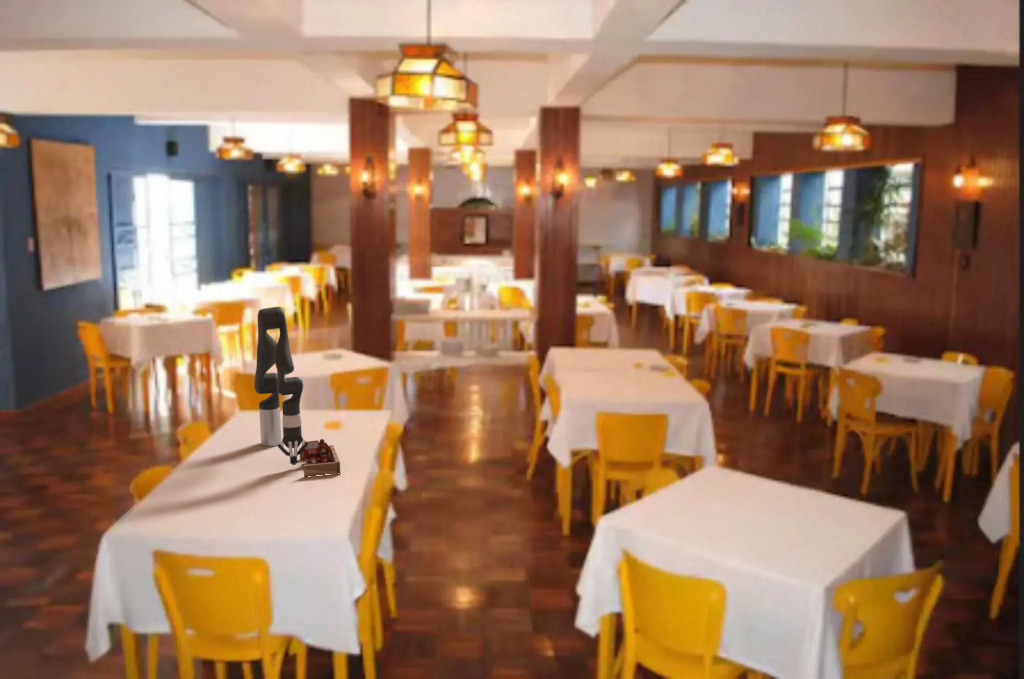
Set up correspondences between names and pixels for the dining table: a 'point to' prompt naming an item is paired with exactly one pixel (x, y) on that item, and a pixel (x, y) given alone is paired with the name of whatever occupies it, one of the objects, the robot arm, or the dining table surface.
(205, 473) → the dining table surface
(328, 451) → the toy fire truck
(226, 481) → the dining table surface
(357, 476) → the dining table surface
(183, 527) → the dining table surface
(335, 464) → the open wooden box
